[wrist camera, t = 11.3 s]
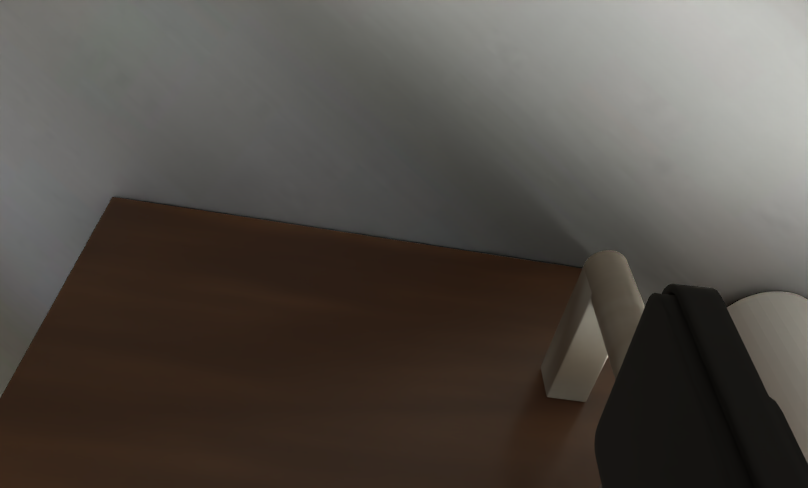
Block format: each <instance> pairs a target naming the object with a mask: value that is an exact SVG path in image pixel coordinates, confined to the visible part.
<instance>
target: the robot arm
mask: <svg viewBox="0 0 808 488" xmlns="http://www.w3.org/2000/svg"><path fill="white" fill-rule="evenodd" d="M594 447H595V456H596V461H597V465H598V470H599V475H600V479H601V484H602V488H808V463H807V461H806V459H805V457H804V455H803V453H802V451H801V449H800V447H799V445H798V443H797V440H796V438H795V436H794V434H793V432H792V430H791V428H790V426H789V424H788V422H787V420H786V418H785V416H784V414H783V412H782V410H781V409H780V407H779V406H778V404H777V403H776V401H775V400H774V399H772V398H771V397H769V395H768V393H767V391H766V389H765V387H764V385H763V383H762V380H761V378H760V376H759V374H758V372H757V370H756V368H755V366H754V364H753V362H752V360H751V358H750V355H749V353H748V351H747V349H746V347H745V345H744V343H743V341H742V339H741V337H740V335H739V332H738V330H737V328H736V326H735V324H734V322H733V320H732V318H731V316H730V314H729V312H728V309H727V307H726V305H725V303H724V301H723V299H722V297H721V295H720V294H719V292H718V291H717V290H716V289H714V288H708V287H698V286H689V285H679V284H669V285H668V286H667V287H666V288H665V289H664V290H663V292H662V294H659V293H654V294H652V295H651V296H650V297H649V299H648V301H647V303H646V305H645V308H644V310H643V313H642V315H641V318H640V320H639V323H638V325H637V328H636V330H635V333H634V335H633V338H632V340H631V343H630V345H629V348H628V350H627V353H626V355H625V358H624V360H623V363H622V365H621V368H620V370H619V373H618V375H617V378H616V380H615V383H614V385H613V388H612V390H611V393H610V395H609V398H608V400H607V403H606V405H605V408H604V410H603V413H602V415H601V418H600V420H599V423H598V425H597V428H596V432H595V442H594Z"/></svg>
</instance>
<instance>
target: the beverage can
mask: <svg viewBox="0 0 808 488" xmlns="http://www.w3.org/2000/svg"><path fill="white" fill-rule="evenodd" d="M727 309H728V312H729V314H730V316H731V318H732V320H733V322H734V324H735V326H736V328H737V330H738V332H739V335H740V337H741V339H742V341H743V343H744V345H745V347H746V349H747V351H748V353H749V355H750V358H751V360H752V362H753V364H754V366H755V368H756V370H757V372H758V374H759V376H760V378H761V380H762V383H763V385H764V387H765V389H766V391H767V393H768V395H769V397H771V398H772V399H774V400H775V401H776V403H777V404H778V406H779V407H780V409H781V410H782V412H783V414H784V416H785V418H786V420H787V422H788V424H789V426H790V428H791V430H792V432H793V434H794V436H795V438H796V440H797V443H798V445H799V447H800V449H801V451H802V453H803V455H804V457H805V459H806V461H807V463H808V299H806V298H804V297H803V296H800V295H797V294H794V293H790V292H780V291H774V292H764V293H759V294H755V295H752V296H749V297H746V298H743V299H741V300H739V301H737V302H735V303H733V304H732V305H730V306H729V307H727Z"/></svg>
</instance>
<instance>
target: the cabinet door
mask: <svg viewBox="0 0 808 488" xmlns="http://www.w3.org/2000/svg"><path fill="white" fill-rule="evenodd" d="M644 308H645V306H644V303H643V301H642V298H641V296H640V293H639V290H638V288H637V285H636V283H635V280H634V278H633V275H632V272H631V270H630V267H629V265H628V262H627V260H626V258H625V257H624V256H623V255H622V254H621V253H619V252H616V251H613V250H604V251H600V252H597V253H595V254H593V255H592V256H590V257H589V258H588V259H587V260H586V262H585V264H584V266H583V268H577V267H570V266H564V265H557V264H550V263H544V262H537V261H531V260H524V259H518V258H511V257H504V256H498V255H491V254H485V253H478V252H472V251H465V250H459V249H452V248H445V247H439V246H432V245H426V244H419V243H413V242H406V241H399V240H393V239H386V238H380V237H373V236H367V235H360V234H354V233H347V232H340V231H334V230H327V229H321V228H314V227H308V226H301V225H294V224H288V223H281V222H275V221H268V220H262V219H255V218H248V217H242V216H235V215H229V214H222V213H216V212H209V211H203V210H196V209H189V208H183V207H176V206H170V205H163V204H157V203H150V202H143V201H137V200H130V199H124V198H117V197H112V198H111V200H110V202H109V204H108V206H107V207H106V209H105V211H104V213H103V215H102V216H101V218H100V220H99V222H98V224H97V225H96V227H95V229H94V231H93V233H92V234H91V236H90V238H89V240H88V242H87V243H86V245H85V247H84V249H83V251H82V252H81V254H80V256H79V258H78V260H77V261H76V263H75V265H74V267H73V268H72V270H71V272H70V274H69V276H68V277H67V279H66V281H65V283H64V285H63V286H62V288H61V290H60V292H59V294H58V295H57V297H56V299H55V301H54V303H53V304H52V306H51V308H50V310H49V312H48V313H47V315H46V317H45V319H44V321H43V322H42V324H41V326H40V328H39V330H38V331H37V333H36V335H35V337H34V339H33V340H32V342H31V344H30V346H29V348H28V349H27V351H26V353H25V355H24V357H23V358H22V360H21V362H20V364H19V366H18V367H17V369H16V371H15V373H14V375H13V376H12V378H11V380H10V382H9V384H8V385H7V387H6V389H5V391H4V393H3V394H2V396H1V398H0V488H602V484H601V479H600V475H599V470H598V465H597V461H596V456H595V447H594V442H595V432H596V428H597V425H598V423H599V420H600V418H601V415H602V413H603V410H604V408H605V405H606V403H607V400H608V398H609V395H610V393H611V390H612V388H613V385H614V383H615V380H616V378H617V375H618V373H619V370H620V368H621V365H622V363H623V360H624V358H625V355H626V353H627V350H628V348H629V345H630V343H631V340H632V338H633V335H634V333H635V330H636V328H637V325H638V323H639V320H640V318H641V315H642V313H643V310H644Z"/></svg>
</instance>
